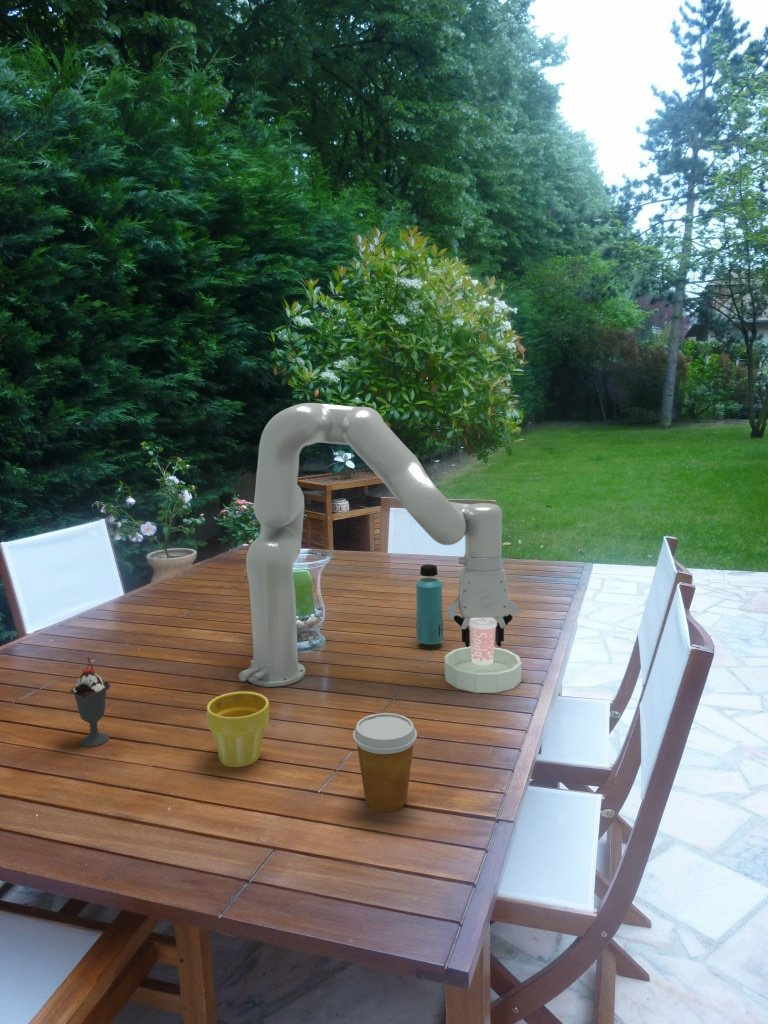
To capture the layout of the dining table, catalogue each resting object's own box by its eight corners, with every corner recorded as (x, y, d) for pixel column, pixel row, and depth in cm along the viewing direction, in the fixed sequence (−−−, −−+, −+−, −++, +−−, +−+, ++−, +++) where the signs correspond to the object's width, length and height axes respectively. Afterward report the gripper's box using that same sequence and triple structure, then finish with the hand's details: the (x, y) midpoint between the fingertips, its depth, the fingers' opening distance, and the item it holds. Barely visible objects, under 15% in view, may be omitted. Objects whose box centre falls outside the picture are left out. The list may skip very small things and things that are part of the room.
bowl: (502, 698, 142) (502, 680, 141) (431, 682, 150) (431, 664, 150) (531, 671, 155) (531, 654, 155) (465, 658, 164) (465, 641, 163)
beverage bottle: (441, 651, 168) (441, 569, 165) (413, 649, 170) (413, 568, 166) (444, 641, 175) (444, 562, 171) (418, 640, 176) (417, 561, 173)
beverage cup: (462, 661, 152) (462, 598, 150) (479, 653, 157) (480, 592, 154) (485, 669, 148) (485, 604, 146) (502, 660, 152) (503, 597, 150)
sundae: (102, 728, 132) (95, 651, 130) (121, 738, 128) (114, 659, 126) (67, 741, 127) (59, 662, 125) (86, 753, 123) (79, 671, 121)
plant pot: (283, 751, 123) (281, 698, 121) (243, 779, 114) (240, 722, 112) (238, 737, 128) (235, 686, 126) (196, 763, 119) (192, 708, 117)
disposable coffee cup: (415, 782, 112) (414, 710, 110) (419, 817, 103) (419, 740, 101) (354, 783, 112) (353, 712, 110) (354, 819, 103) (352, 742, 101)
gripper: (443, 567, 145) (443, 651, 148) (528, 566, 145) (526, 650, 148) (440, 559, 152) (440, 639, 155) (520, 557, 152) (519, 637, 155)
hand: (482, 643), depth 152 cm, fingers closed on beverage cup, 6 cm apart
